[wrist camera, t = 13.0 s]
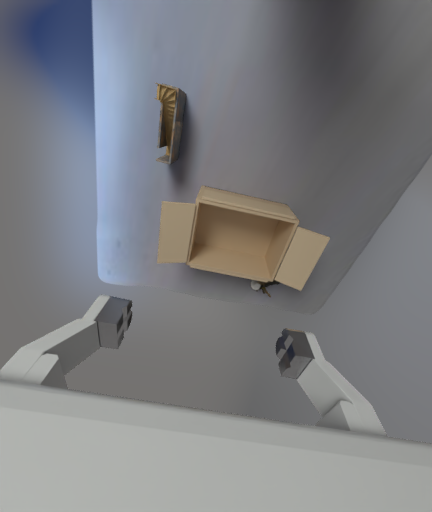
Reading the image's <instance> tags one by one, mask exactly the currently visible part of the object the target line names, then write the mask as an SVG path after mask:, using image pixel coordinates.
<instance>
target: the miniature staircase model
mask: <svg viewBox="0 0 432 512" xmlns="http://www.w3.org/2000/svg"><path fill="white" fill-rule="evenodd" d="M156 84H158V83H156ZM154 99H156V98H154ZM157 100H160V102H161V111H160V123H159V136H158V146H157V148H161V147H164V146H167V150H166V155H164V156H162V157H160V158H158V159H156V161H159V162H163V163H167V164H172V163H173V162H175V161H176V160H178V156H179V148H180V140H181V132H182V124H183V116H184V108H185V101H186V93H184V92H183V91H182V90H181V89H179V88H177V87H173V86H170V85H166V84H163V83H162V85H161V84H158V88H157Z"/></svg>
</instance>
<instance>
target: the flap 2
mask: <svg viewBox="0 0 432 512" xmlns="http://www.w3.org/2000/svg"><path fill="white" fill-rule="evenodd" d="M329 240H330V237H327V236H324V235H321V234H319V233H316V232H313V231H310V230H307V229H304V228H301V227H298V228H297V230H296V232H295V235H294V237H293V239H292V241H291V243H290V246H289V248H288V250H287V252H286V255H285V257H284V259H283V261H282V263H281V266H280V268H279V270H278V272H277V275H276V277H275V279H274V280H276V281H278V282H280V283H283V284H285V285H288V286H290V287H292V288H295V289H297V290H300V291H301V290H302V288H303V287H304V285H305V283H306V281H307V279H308V278H309V276H310V274H311V272H312V270H313V269H314V267H315V265H316V263H317V261H318V259H319V258H320V256H321V254H322V252H323V250H324V249H325V247H326V245H327V243H328V241H329Z"/></svg>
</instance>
